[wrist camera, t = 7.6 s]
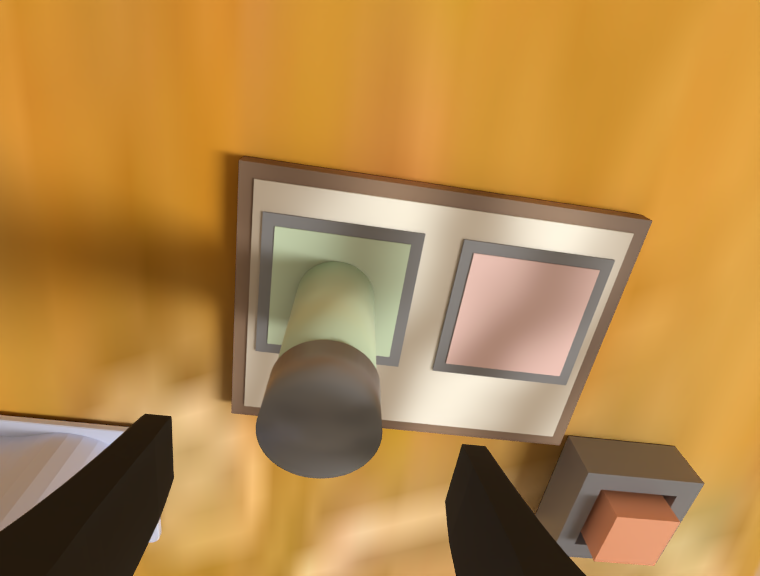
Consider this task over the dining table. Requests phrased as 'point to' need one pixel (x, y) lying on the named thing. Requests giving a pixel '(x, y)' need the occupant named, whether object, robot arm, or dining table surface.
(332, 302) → the sage marker
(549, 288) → the colouring board
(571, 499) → the button housing
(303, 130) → the dining table surface
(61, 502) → the robot arm
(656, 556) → the button
